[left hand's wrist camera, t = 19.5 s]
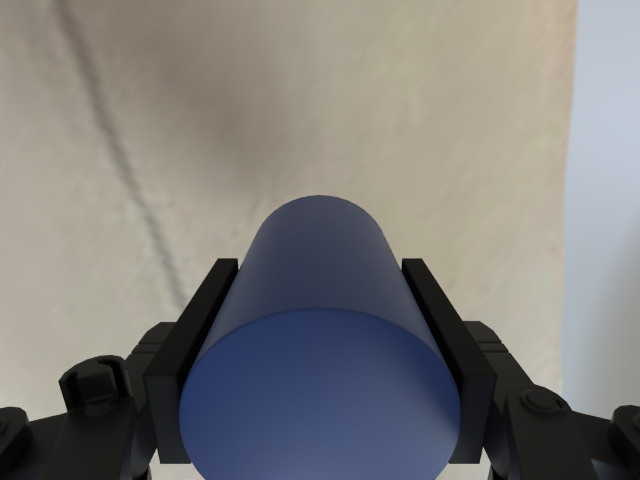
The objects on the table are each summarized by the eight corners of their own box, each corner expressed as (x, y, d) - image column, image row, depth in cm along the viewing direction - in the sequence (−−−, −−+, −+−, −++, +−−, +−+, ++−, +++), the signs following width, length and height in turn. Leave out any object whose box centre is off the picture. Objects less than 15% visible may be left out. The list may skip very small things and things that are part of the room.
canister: (415, 237, 17) (522, 388, 8) (343, 340, 19) (366, 554, 10) (291, 168, 16) (253, 253, 7) (228, 285, 18) (136, 470, 9)
